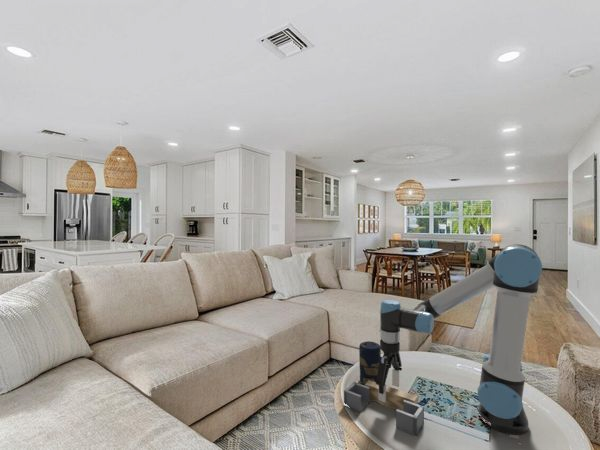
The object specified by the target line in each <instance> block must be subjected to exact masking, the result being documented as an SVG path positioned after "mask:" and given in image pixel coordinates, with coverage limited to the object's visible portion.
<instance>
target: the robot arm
mask: <svg viewBox="0 0 600 450" xmlns="http://www.w3.org/2000/svg"><path fill="white" fill-rule="evenodd" d="M542 272H543V264H542V260H541V258H540V257H539V256H538V253H537V252H536V251H535V250H534V249H533V248H531V247H529V246H528V245H524V244H519V243H518V244H510V245H506V247H504V248H503V249H501V250H500V251H499V252H498V253H497V254H495V256H494V257H492V258H490V259H489V260H487V261H486V265H484V266H482V267H481V268H479V269H477V270H476V271H474V272H472V273H470V274H469V275H467V276H464V278H462V279H460V280H459V281H457V282H455V283H453V284H452V285H450V286H449V287H448V286H447V288H445V289H442V290H441V291H440V292H438V293H436V294H435V295H433V296H431V297H430V298H428V299H426V300H424V301H421V302H420V303H419V304H417V306H415V308H413V309H407V308H403V307H401V303H400V302H399V301H397V300H395V299H393V300H392V299H385V300H383V301H381V303H380V311H379V313H380V317H379V319H380V324H379V325H380V328H379V334H380V335H379V337H380V340H379V345H380V349H381V351H382V352H383V354H382V356H381V357H380V362H379V368H378V373H377V379H376V384H377V385H379V392H378V400H380V401H382V402H386V386H387V384H386V382H387V378H388V375H389V371H390V369H391V368H393V369H392V371H391V372H392V373H391V381H392V382H391V385H392V386H394V387H397V388H400V372H401V371H402V369H403V368H402V365H403V364H402V361H401V356H400V350H401V349H400V348H401V342H400V341H401V329H403V330H404V329H405V330H408V331H413V332H418V333H421V334H432V332H433V329H434V326H435V319H437V318H439V317H441V316H442V315H445V314H446V313H447V312H450V311H452V310H453V309H455V308H457V307H458V306H460V305H463V304H464V303H467V302H468V301H470V300H472V299H474V298H475V297H477V296H479V295H481V294H483V293H485V292H487V291H489V290H491V289H492V288H495V289H496V290H497V293H496V300H495V307H494V313H493V314H494V315H493V323H492V330H491V337H490V338H491V339H490V347H489V353H487V354H484V356H483V360H482V362H483V363H482V366H481V372H480V381H479V384H478V385H479V386H478V387H477V398H478V400H479V405H478V408H477V409H478V410H477V412H479V414H480V415H481V417H483V418H484V419H485V420H487V421H488V422H490V423H491V427H490V428H491V429H494V430H496V431H498V432H500V433H501V432H502V433H505V434H509V435H523V434H526V433H527V432H528V431H529V419H528V416H527V414H526V411H525V408H524V403H523V394H524V388H525V381H526V376H525V374H524V373H523V371H524V370H523V367H522V358H523V352H524V351H523V350H524V344H525V336H526V328H527V322H528V316H529V309H530V302H531V301H530V300H531V297H532V296H534V295H536V294H538V288H539V283H540V282H539V281H540V277H541V276H542Z"/></svg>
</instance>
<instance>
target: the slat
mask: <svg viewBox="0 0 600 450" xmlns="http://www.w3.org/2000/svg"><path fill="white" fill-rule="evenodd" d="M364 386H367V387H370V401H371V402H375V403H376V404H380V405H383V406H385V407H387V408H388V407H389V408H391V409H393V410H395V411H396V410H397V409H398V410H401V411H403V401H404V400H406V401H409V402H412V403H415V404H418V405H419V401H418V398H419V396H418V395H415V394H412V393H409V392H406V391H405V390H404V391H403V390H400V389H397V388H394V387H391V386H390V385H389V386H388V385H386V402H382V401H380V400H378V392H379V385H377V384H376V382H373V381H370V380H369V381H368V382H367V383H366V384H364Z"/></svg>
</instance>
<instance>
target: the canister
mask: <svg viewBox="0 0 600 450" xmlns="http://www.w3.org/2000/svg"><path fill="white" fill-rule="evenodd" d="M358 350H359V361H358V363H359V380H360V382H361V383H363V385H365V384H366V383H367V382H368V381H369V380H370V381H373V382H376V379H377V373H378V368H379V362H380V357H382V355H381V354H382V353H381V351H382V350H381V349H380V343H377V342H374V341H370V340H369V341H368V340H367V341H363V342H361V343H360V344H359V349H358Z"/></svg>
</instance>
